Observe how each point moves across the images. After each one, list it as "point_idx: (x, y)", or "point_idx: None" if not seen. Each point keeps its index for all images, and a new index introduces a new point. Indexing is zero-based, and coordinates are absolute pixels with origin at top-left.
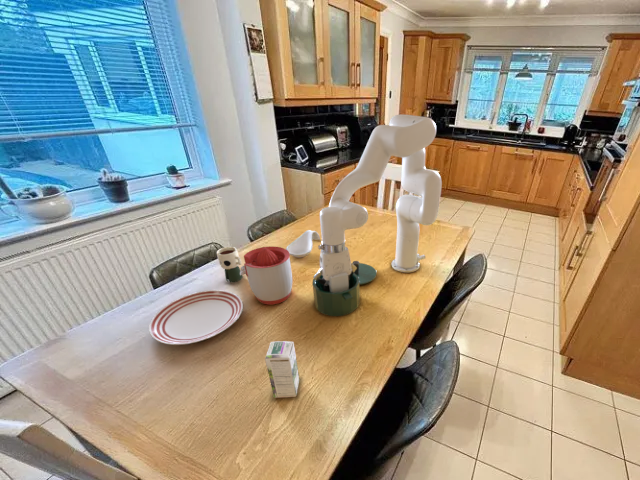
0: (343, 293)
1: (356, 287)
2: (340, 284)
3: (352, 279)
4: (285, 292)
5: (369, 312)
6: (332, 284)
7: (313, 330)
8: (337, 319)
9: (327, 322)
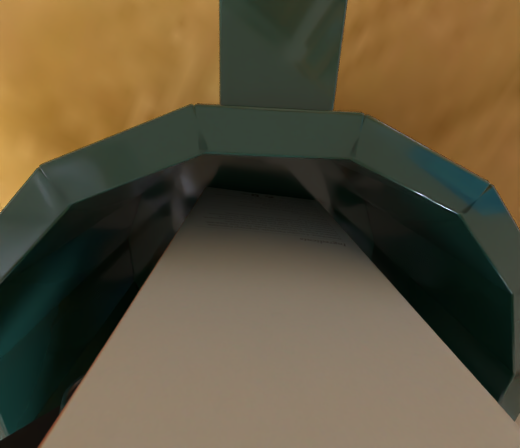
0: (326, 108)
1: (47, 165)
2: (284, 310)
3: (69, 378)
4: (516, 423)
5: (100, 46)
6: (436, 349)
7: (513, 82)
8: (336, 103)
9: (403, 110)
